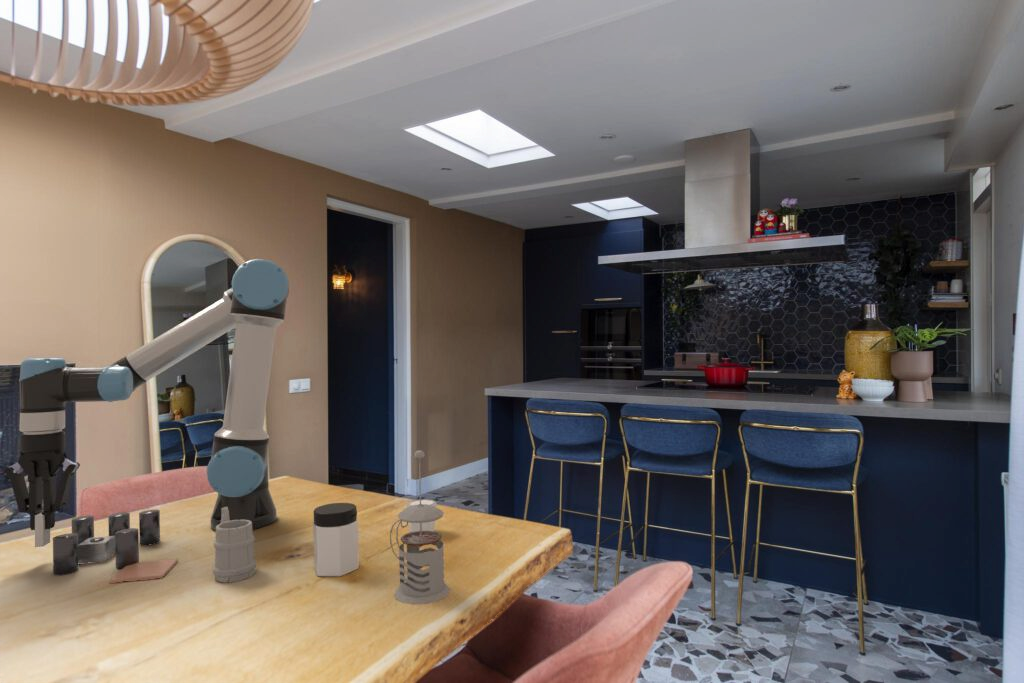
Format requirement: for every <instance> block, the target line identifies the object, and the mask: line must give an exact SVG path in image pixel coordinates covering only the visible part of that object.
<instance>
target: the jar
mask: <svg viewBox="0 0 1024 683" xmlns="http://www.w3.org/2000/svg"><path fill="white" fill-rule="evenodd" d="M312 523H313V526H312V528H313V530H312V531H313V564H314V567H313V568H314V570H315V573H316V576H317V577H342V576H344V575H347V574H350V573H352V572H355V571H357V570H359V567H360V562H359V561H360V559H359V558H360V556H359V553H360V552H359V521H358V510H357V505H356V504H354V503H351V502H333V503H328V504H327V503H326V504H323V505H320V506H317V507H315V508H314V510H313V522H312Z"/></svg>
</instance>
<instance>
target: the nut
mask: <svg viewBox="0 0 1024 683" xmlns="http://www.w3.org/2000/svg"><path fill="white" fill-rule="evenodd" d="M114 553H115V536H109V535H108V536H97V537H96V536H94V537H93V538H88V539H87V540H85V541H84V542H82V543H80V544H79V545H78V563H84V564H89V563H88V562H95V563H101V562H100V561H105V562H107V561H108V560H109V559H110V558H112V557H113V556H114V555H115V554H114ZM113 554H114V555H113ZM112 555H113V556H112ZM111 556H112V557H111ZM109 557H110V558H109ZM108 558H109V559H108ZM107 559H108V560H107ZM106 560H107V561H106Z"/></svg>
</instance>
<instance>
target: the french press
mask: <svg viewBox="0 0 1024 683" xmlns="http://www.w3.org/2000/svg"><path fill="white" fill-rule="evenodd" d="M413 457H414V458H417V459H418V469H419V470H418V474H419V475H418V477H419V478H418V480H419V500H420V504H418V505H413V506H411V507H408V508H407V507H406V508H404V509H402V510H401V511H400V512H398V514H397V516H396V517H397V518H398V520H397V521H394V523H393V524H392V526H391V527H390V528H391V529H390V530H389V531H390V532H389V544H390V548H391V551H392V553H393V555H394V557H396V559H397V560H399V562H398V565H399V566H398V568H399V570H398V572H399V587H397V589H396V590H395V592H394V596H393V597H394V598H395V599H396V601H399V602H402V603H404V604H410V605H422V604H424V605H425V604H429V603H434V602H438V601H439V600H441V599H444V598H446V597H447V596H448V595H449V594H450V592H451V588H450V586H448V585H447V584H446V583H445V580H444V579H445V573H444V572H445V566H444V564H445V560H444V555H445V554H444V542H442V541H441V539H442V536H443V535H442V534H440V533H439V532H437V531H433V532H432V531H422V523H426V522H432V521H435V522H436V521H438V520H440V519H441V518H443V516H444V511H443V510H442V509H440V508H438V507H437V506H436V507H435V506H431V505H427V504H421V500H422V486H421V484H422V482H421V480H422V479H421V458H424V457H425V452H424V451H423V450H418V449H417V450H416V451H415V452H414V453H413ZM403 522H405V523H406V524H405V525H403ZM409 522H410V523H420V531H415V532H410V531H409V532H408V533H405V534H403V535H402V536H401V537H400V541H401V542H402V543H401V544H399V538H398V537H399V534H398V532H399V531H398V530H399V527H401V528H402V529H404V528H406V527H408V526H409ZM397 523H398V524H397ZM396 524H397V526H396V531H395V533H396V535H395V536H396V537H395V538H396V539H395V540H396V543H397V547H398V555H397V553H396V552H395V551H394V548H393V544H392V533H393V529H394V527H395V525H396ZM405 545H406V552H405ZM429 545H432V546H435V547H436V548H437V549H436V548H432V547H427V548H423V549H420V548H421V547H423V546H429ZM405 560H406V562H405ZM424 567H428V568H426V569H423V568H424ZM405 568H406V569H405ZM422 569H423V570H422ZM405 575H406V576H405Z"/></svg>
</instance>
